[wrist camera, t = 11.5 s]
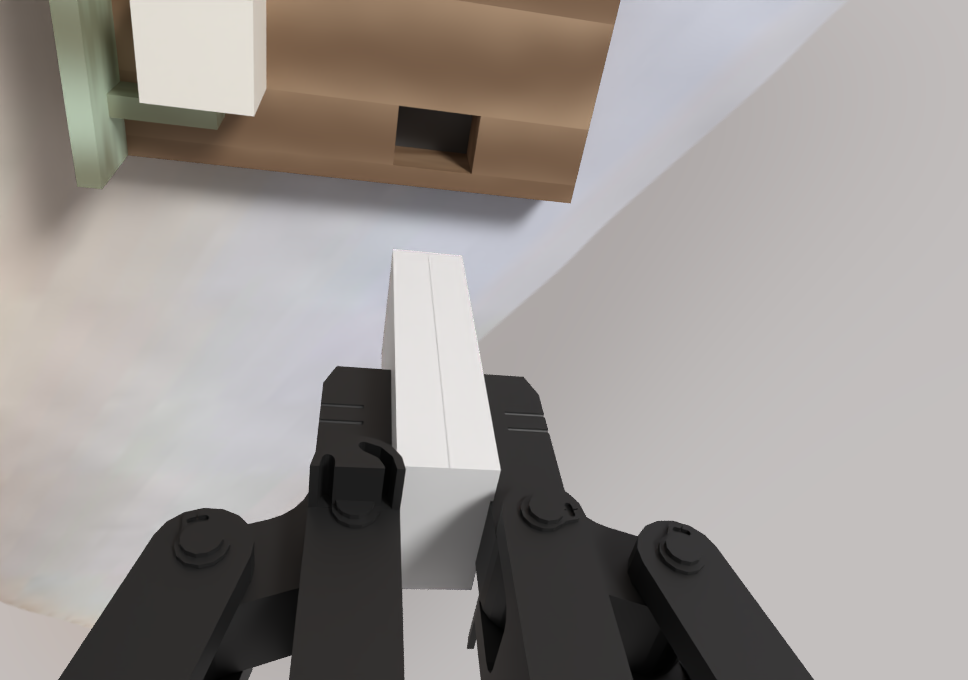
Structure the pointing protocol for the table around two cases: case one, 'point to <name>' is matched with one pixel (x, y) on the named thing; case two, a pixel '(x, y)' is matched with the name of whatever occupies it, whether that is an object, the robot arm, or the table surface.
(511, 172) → the board
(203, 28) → the ivory block
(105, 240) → the table surface
